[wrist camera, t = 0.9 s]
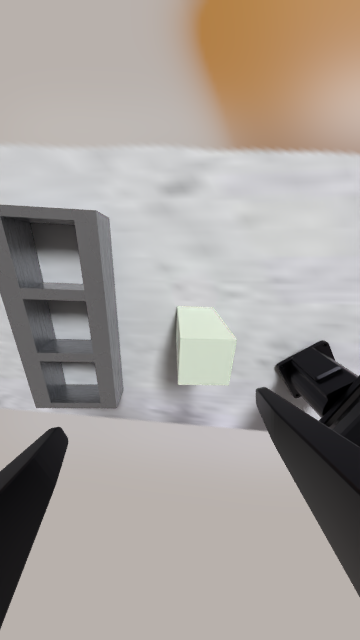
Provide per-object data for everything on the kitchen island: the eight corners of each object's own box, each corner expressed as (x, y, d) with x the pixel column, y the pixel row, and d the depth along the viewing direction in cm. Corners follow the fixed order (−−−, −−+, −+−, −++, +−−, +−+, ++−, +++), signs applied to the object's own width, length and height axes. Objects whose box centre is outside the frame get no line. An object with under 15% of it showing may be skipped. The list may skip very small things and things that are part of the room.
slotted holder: (123, 389, 23) (116, 408, 21) (52, 388, 23) (36, 407, 20) (109, 217, 16) (96, 210, 14) (7, 211, 16) (-28, 203, 13)
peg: (212, 307, 20) (236, 339, 12) (209, 339, 21) (228, 385, 14) (177, 306, 20) (180, 338, 12) (175, 338, 21) (177, 384, 14)
